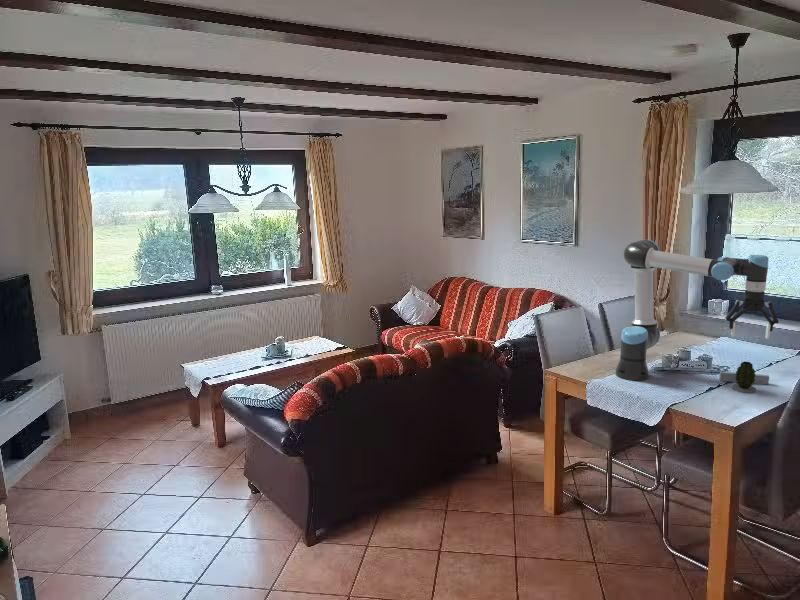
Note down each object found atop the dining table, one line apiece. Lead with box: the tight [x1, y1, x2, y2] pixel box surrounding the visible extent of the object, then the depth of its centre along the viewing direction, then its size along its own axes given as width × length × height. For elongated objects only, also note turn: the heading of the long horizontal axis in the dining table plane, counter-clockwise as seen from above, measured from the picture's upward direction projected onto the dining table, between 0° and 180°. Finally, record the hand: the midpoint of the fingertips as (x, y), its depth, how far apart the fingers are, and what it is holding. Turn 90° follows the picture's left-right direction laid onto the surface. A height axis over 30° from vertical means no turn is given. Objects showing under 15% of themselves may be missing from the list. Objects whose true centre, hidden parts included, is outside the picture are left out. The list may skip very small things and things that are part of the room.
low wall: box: [718, 371, 770, 385], centre depth 272 cm, size 20×2×4 cm, turn 72°
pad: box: [731, 383, 758, 394], centre depth 263 cm, size 10×10×1 cm
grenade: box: [735, 361, 756, 389], centre depth 262 cm, size 8×8×12 cm
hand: (749, 337), depth 258 cm, fingers open, 13 cm apart
